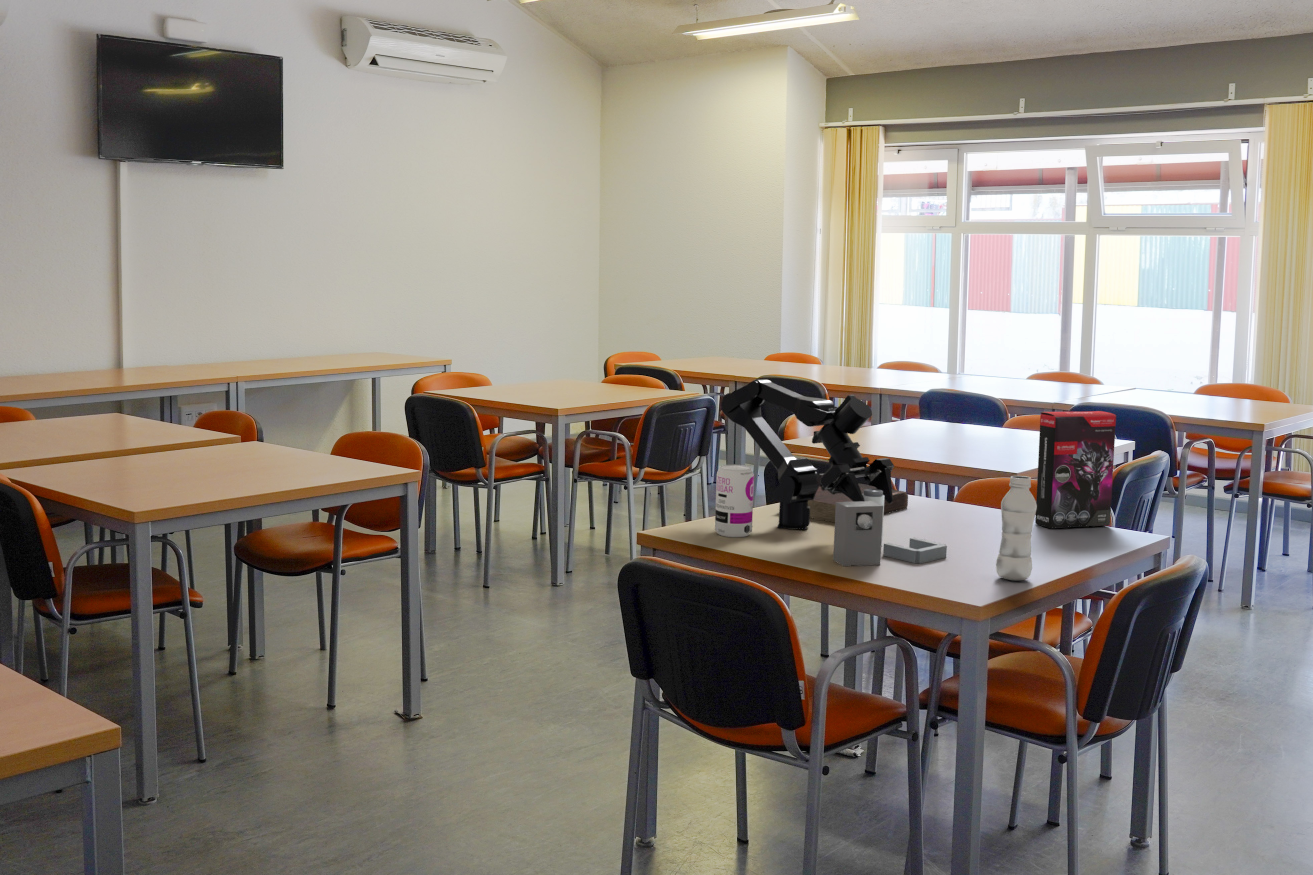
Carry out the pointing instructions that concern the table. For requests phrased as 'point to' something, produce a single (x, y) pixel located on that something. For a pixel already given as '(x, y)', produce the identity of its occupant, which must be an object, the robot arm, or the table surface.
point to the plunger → (863, 520)
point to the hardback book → (826, 502)
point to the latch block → (857, 534)
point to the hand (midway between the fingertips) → (877, 504)
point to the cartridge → (875, 499)
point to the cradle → (916, 551)
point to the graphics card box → (1075, 469)
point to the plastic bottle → (1016, 530)
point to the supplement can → (734, 500)
